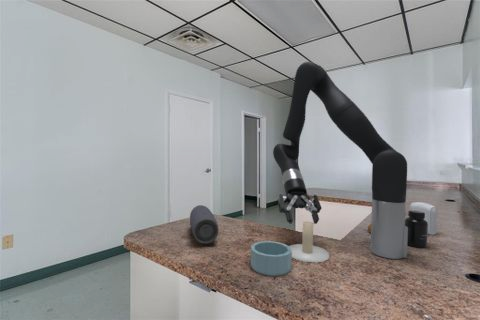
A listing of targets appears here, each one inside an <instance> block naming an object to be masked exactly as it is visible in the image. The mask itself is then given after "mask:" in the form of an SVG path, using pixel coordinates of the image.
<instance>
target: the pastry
mask: <svg viewBox="0 0 480 320" xmlns="http://www.w3.org/2000/svg"><path fill="white" fill-rule="evenodd" d="M367 232H368V233H371V223H370V224H369V225H368V226H367Z"/></svg>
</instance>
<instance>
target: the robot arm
mask: <svg viewBox="0 0 480 320" xmlns="http://www.w3.org/2000/svg"><path fill="white" fill-rule="evenodd" d="M326 71H327V70H325V68H324V67H322V66H321V65H319V64H317V63H315V62H312V61H305V62H302V64H300V65H299V66H298V67H297V69H296V72H295V76H294V81H293V89H292V95H291V96H292V97H291V102H290V106H289V112H288V116H287V119H286V123H285V125H284V129H283V133H282V137H283V138H284V139H285V140H288V141H290V144H285V143H278V144H276V145H275V146H274V148H273V149H272V154H273V155H272V156H273V159H274V160H275V162H276V164H277V165H278V167H279V168H280V170H281V176H282V184H283V188H284V193H285V195H283V194H280V193H279V196H278V198H277V203H278V210H279V211H278V212H279V213H280V214H281V213H284V214H285V218H286V222H288V224H290V225H291V224H293V221H294V218H293V214H292V211H291V210H292V208H294V209H304V210H306V211H308V212H309V213H310V214H311V218H312V221H313V222H312V223H313V225H317V224H318V222H319V221H320V218H319V217H320V216H319V213H320V211H321V210H322V209H323V208H322V206H321V203H320V200H319V198H318V195H317V194H313V196H309V194H308V191H307V188H306V187H307V186H306V185H305V181H304V180H305V179H304V177H303V174H302V173H301V170H300V169H301V168H300V166H299V164H298V162H297V160H298V158H299V156H300V140H301V135H302V132H303V130H304V125H305V122H306V113H307V112H306V111H307V109H306V107H307V102H308V101H307V100H308V97H309V95H310V92H312V93H313V94H314V95H315V96H317V98H318V99H319V100H320V101H321V103H323V105H324V108H325V110H326V112H327V114H328V116H329V118H330V119H331V122H333V123H334V124H335V126H336V127H337V128H338V130H340V131H341V132H342V133H343V135H345V137H347V138H348V140H349V141H351V142H353V144H355V145H356V146H357V147H358V148H359V149H361V151H362V152H363V153H364V154H365V156H366V157H367V158H368V160H369V161H370V163H371V164H372V167H371V169H372V171H371V173H372V174H371V194H372V195H371V199H372V200H371V223H370V224H371V232H370V244H369V245H370V248H369V249H370V252H371V253H372V254H374V255H376V256H378V257H382V258H386V259H392V260H399V259H403V258H404V259H408V245H407V240H408V227H407V226H405V219H406V203H407V202H406V200H407V183H408V161H407V159H406V158H405V156H404V155H403V154H402V153H400V152H398V151H397V150H396V149H395V148H393V146H391V145H390V144H389V143H388V142H387V141H386V140H385V139H384V138H383V137H382V136H381V135H380V134H379V132H378V131H377V129H376V128H375V127H374V125H373V124H372V122H371V121H370V120H369V118H368V117H367V116H366V114H365V113H364V112H363V111H362V109H361V108H359V106H357V105H356V103H355V102H354V101H352V100H351V98H349V96H348V95H347V94H346V93H345V92H343V91H342V90H341V89H340V88H339V87H338V86H337V85H336V84H335V82H334V81H333V79H332V78H331V77H330V76H329V74H328V73H327V72H326ZM285 201H286V202H287V203H288V205H287V207H285Z"/></svg>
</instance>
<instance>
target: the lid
mask: <svg viewBox="0 0 480 320" xmlns="http://www.w3.org/2000/svg"><path fill="white" fill-rule="evenodd" d="M301 238H302V240H301V241H302V242H301V243H296V244H291V245H288V246H289V247H290V248H291V250H292V258H294V259H296V260H295V261H297V260H299V261H298V262H300V261H303V262H302V263H305V262H315V263H314V264H319V263H318V262H323V263H325V262H324V261H326V260H328V259H330V253H329V251H327V250H326V249H324V248H323V247H320V246H317V245H314V222H311V221H303V222H302V236H301ZM294 259H293V260H294ZM328 261H329V260H328ZM326 262H327V261H326Z"/></svg>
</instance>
